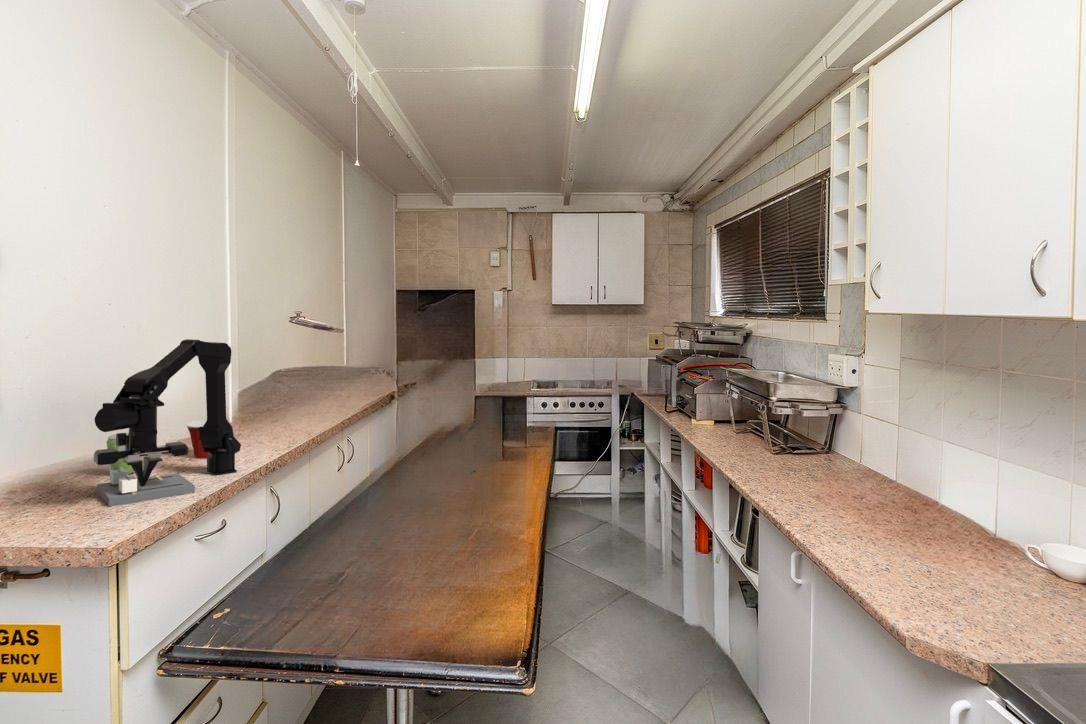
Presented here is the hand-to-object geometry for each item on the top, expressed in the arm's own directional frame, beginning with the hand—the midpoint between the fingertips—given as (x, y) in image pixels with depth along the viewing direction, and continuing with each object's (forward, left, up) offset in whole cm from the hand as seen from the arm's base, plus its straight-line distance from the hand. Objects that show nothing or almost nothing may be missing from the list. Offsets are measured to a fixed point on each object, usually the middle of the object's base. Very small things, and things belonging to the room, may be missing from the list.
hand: (142, 486), depth 137 cm
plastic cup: (-25, -39, -3) cm, 46 cm away
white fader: (+3, -10, -1) cm, 11 cm away
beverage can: (-1, -29, -3) cm, 29 cm away
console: (-2, -5, -3) cm, 6 cm away
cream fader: (+3, 0, -1) cm, 3 cm away
